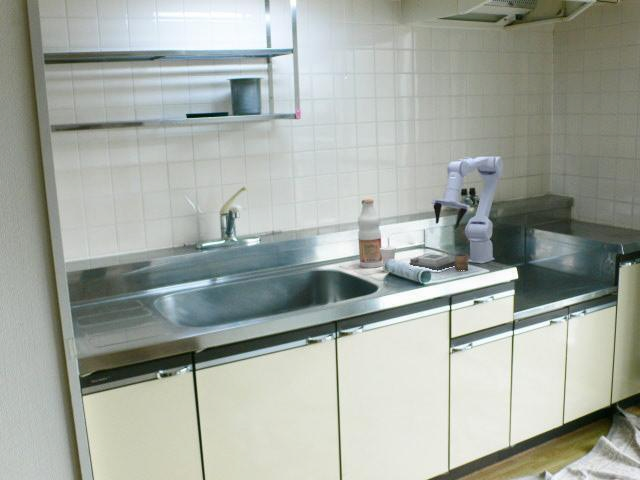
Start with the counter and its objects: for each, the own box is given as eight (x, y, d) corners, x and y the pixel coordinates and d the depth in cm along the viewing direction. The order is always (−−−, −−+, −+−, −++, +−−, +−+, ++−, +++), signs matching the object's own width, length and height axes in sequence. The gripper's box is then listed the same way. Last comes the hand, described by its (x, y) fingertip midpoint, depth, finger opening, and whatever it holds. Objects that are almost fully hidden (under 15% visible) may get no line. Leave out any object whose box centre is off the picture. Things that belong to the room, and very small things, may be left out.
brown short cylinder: (459, 267, 275) (459, 252, 274) (470, 269, 271) (470, 253, 270) (452, 270, 272) (452, 255, 270) (463, 271, 268) (462, 256, 267)
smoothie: (391, 273, 273) (389, 239, 271) (378, 272, 277) (376, 238, 274) (399, 270, 278) (398, 236, 276) (386, 268, 282) (384, 235, 279)
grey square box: (430, 262, 288) (429, 251, 288) (458, 265, 278) (457, 254, 278) (409, 269, 279) (408, 258, 278) (437, 273, 269) (437, 261, 268)
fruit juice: (355, 266, 291) (351, 201, 286) (372, 262, 296) (368, 198, 291) (369, 269, 283) (365, 202, 278) (387, 265, 288) (383, 199, 283)
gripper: (437, 185, 261) (430, 219, 259) (474, 193, 261) (467, 227, 259) (433, 188, 268) (426, 222, 266) (469, 196, 268) (463, 230, 266)
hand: (446, 225), depth 263 cm, fingers open, 7 cm apart
